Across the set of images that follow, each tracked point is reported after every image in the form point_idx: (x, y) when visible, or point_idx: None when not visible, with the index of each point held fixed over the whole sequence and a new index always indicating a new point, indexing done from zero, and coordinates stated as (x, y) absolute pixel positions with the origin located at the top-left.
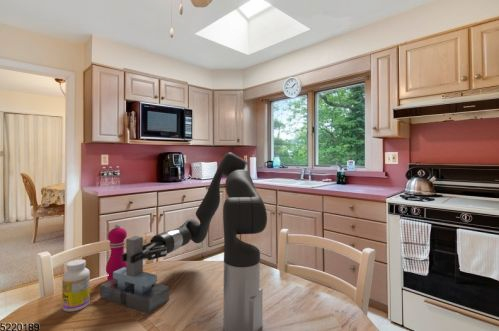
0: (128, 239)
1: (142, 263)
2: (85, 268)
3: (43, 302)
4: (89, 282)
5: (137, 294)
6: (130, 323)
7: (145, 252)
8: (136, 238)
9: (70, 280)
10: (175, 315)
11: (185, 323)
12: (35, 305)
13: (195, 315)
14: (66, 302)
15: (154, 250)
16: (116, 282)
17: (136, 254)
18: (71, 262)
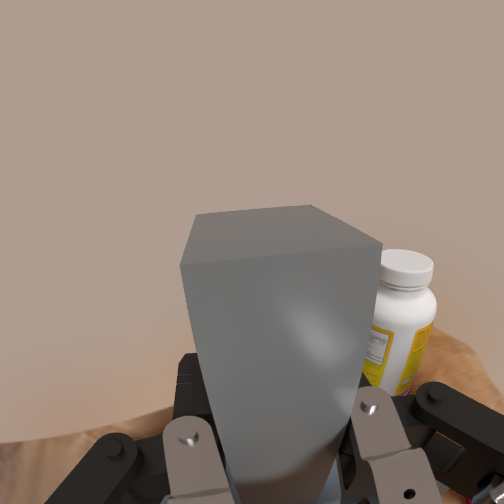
0: (276, 208)
1: (239, 492)
2: (403, 302)
3: (440, 341)
4: (381, 354)
5: None
6: (153, 422)
7: (164, 440)
8: (223, 228)
9: None
10: (55, 476)
11: (24, 450)
12: (433, 332)
13: (11, 479)
14: None
15: (86, 496)
16: None
17: (199, 366)
18: (412, 255)
